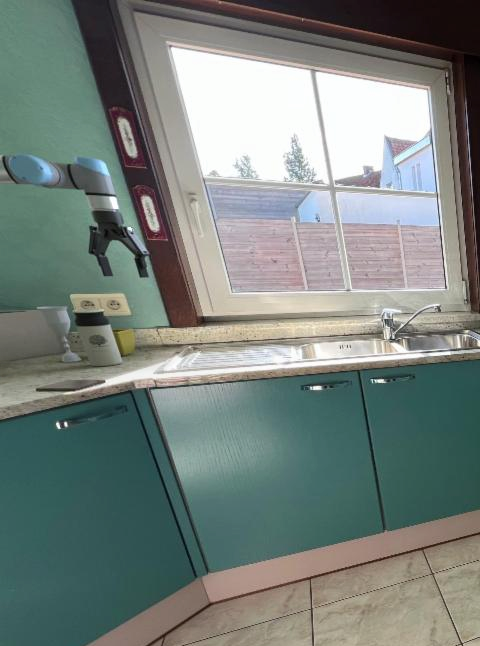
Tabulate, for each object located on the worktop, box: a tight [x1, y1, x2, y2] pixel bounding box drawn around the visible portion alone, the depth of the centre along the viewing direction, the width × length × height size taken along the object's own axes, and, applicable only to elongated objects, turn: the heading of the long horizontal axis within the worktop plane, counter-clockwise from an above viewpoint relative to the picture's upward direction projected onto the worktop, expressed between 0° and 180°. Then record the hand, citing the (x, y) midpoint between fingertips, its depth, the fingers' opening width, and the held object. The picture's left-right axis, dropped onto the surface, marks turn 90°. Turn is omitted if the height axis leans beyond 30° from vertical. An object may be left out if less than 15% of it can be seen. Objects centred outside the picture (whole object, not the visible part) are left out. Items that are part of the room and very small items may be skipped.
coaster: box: [35, 379, 106, 392], centre depth 141 cm, size 10×10×1 cm
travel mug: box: [71, 308, 123, 367], centre depth 164 cm, size 8×8×18 cm
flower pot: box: [111, 328, 136, 357], centre depth 179 cm, size 9×9×9 cm
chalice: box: [36, 305, 83, 363], centre depth 168 cm, size 7×7×18 cm
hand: (126, 277), depth 174 cm, fingers open, 13 cm apart
